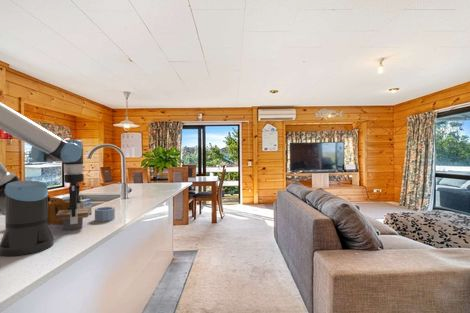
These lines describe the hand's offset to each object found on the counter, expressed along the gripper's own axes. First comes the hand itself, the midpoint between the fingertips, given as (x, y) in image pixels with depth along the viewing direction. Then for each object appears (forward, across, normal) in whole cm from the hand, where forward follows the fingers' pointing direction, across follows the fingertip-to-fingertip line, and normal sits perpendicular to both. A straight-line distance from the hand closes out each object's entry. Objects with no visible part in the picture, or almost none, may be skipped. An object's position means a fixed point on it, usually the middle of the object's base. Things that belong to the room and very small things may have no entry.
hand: (75, 220), depth 119 cm
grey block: (+3, 0, +1) cm, 3 cm away
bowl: (+3, +9, -12) cm, 15 cm away
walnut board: (-2, 0, +1) cm, 2 cm away
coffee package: (-4, +18, +21) cm, 28 cm away
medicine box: (+3, +23, -2) cm, 23 cm away
